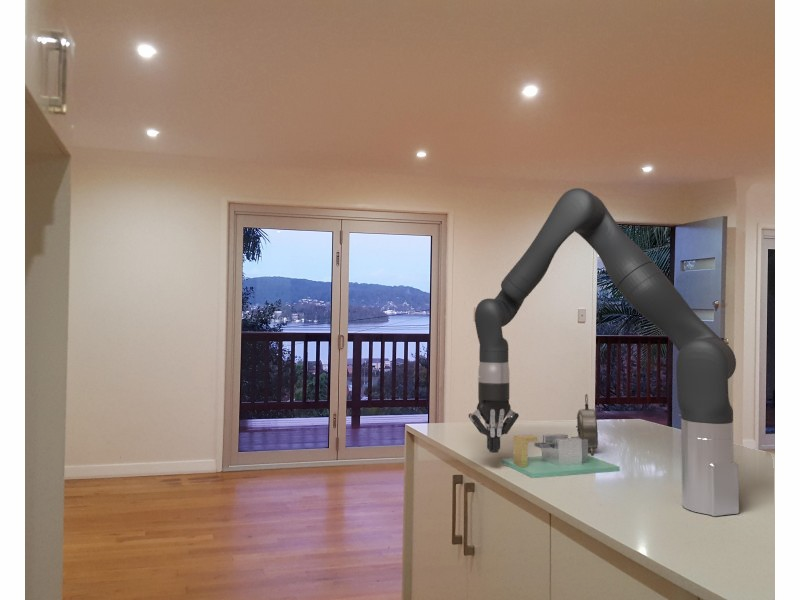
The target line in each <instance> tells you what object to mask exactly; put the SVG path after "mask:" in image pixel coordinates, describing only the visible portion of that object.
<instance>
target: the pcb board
mask: <svg viewBox="0 0 800 600" xmlns="http://www.w3.org/2000/svg"><path fill="white" fill-rule="evenodd" d="M500 462H501V464H503V465H505V466H507V467H510V468H511V469H513V470H515V471H518V472H520V473H522V474H524V475H526V476H528V477H530V478H532V479H535V478H548V477H559V476H572V475H585V474H595V473H606V472H607V473H609V472H620V470H621V469H620V466H619V465H616V464H613V463H610V462H608V461H605V460H602V459H599V458H596V457H593V456H592V455H591V456H590V455H588V463H582V465H578V466H565V467H558V466H555V465H553V464H551V463H548V462H546V461H543V460H542V455H539V456H536V455H535V456H527V467H520V466H517V465H515V464H514V457H513V458H512V457H510V458H509V457H508V458H501V459H500Z"/></svg>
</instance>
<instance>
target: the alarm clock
mask: <svg viewBox="0 0 800 600" xmlns="http://www.w3.org/2000/svg"><path fill="white" fill-rule="evenodd" d="M584 397H585V399H584V402H585V404H584V407H585V408H581V409H579V410H578V411H577V415H576V419H577V422H576V423H577V425H576V426H575V428H577V434H578V435H577V436H578V437H580V439H588V450H590V455H591V456H593V455H594V450H597V449H598V446H599V432H598V421H597V416H596V415H597V414H596V410H595V409H594V408H590V407H589V396H588V394H587V393H586V394H585V396H584Z"/></svg>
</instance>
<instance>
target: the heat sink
mask: <svg viewBox="0 0 800 600" xmlns="http://www.w3.org/2000/svg"><path fill="white" fill-rule="evenodd" d="M568 437H569V435H568V434H566V433H553V434H551V433H550V434H541V442H544V443H549V442H555V447H550V448H541V456H542V460H543V461H546V462H548V463H551V464H553V465H555V466H558V467H565V466H578V465H582V463H588V456H589V449H588V439H580V437H578V435H576V436H570V437H569V438H568Z"/></svg>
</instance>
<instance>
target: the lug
mask: <svg viewBox="0 0 800 600" xmlns="http://www.w3.org/2000/svg"><path fill="white" fill-rule="evenodd" d="M532 442H534V443H536V442H538V436H535V435H532V434H526V435H519V434H517V435H513V458H514V464H515V465H517V466H520V467H527V457H528V443H532Z"/></svg>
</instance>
